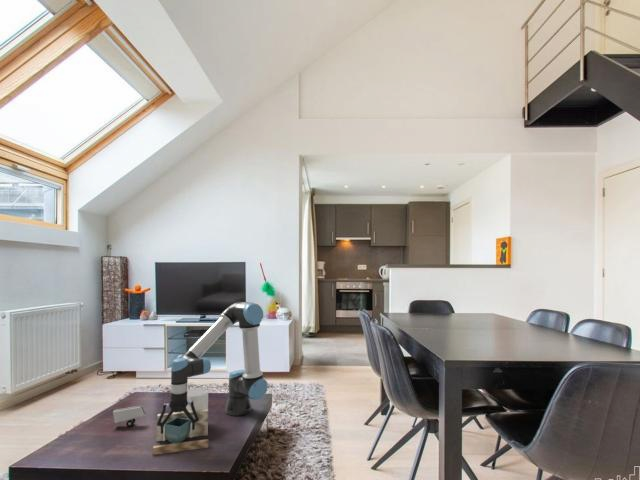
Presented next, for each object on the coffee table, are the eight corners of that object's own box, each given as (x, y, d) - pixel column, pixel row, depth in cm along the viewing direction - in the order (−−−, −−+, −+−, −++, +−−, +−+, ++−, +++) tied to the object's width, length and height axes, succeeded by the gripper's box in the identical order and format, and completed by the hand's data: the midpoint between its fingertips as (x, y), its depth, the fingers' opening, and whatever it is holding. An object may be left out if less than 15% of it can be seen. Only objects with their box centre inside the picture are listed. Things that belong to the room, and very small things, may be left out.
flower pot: (191, 438, 184) (191, 419, 185) (179, 446, 176) (179, 426, 177) (176, 435, 187) (177, 417, 188) (163, 443, 179) (164, 424, 180)
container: (173, 427, 201) (175, 392, 202) (198, 419, 212) (199, 386, 213) (188, 435, 192) (189, 398, 193) (212, 426, 202) (213, 391, 203)
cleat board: (207, 433, 193) (208, 409, 194) (208, 447, 178) (208, 421, 179) (156, 439, 186) (157, 414, 187) (152, 454, 171) (153, 427, 172)
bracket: (115, 430, 199) (145, 423, 201) (112, 412, 199) (141, 404, 202) (118, 427, 203) (147, 420, 205) (115, 409, 203) (144, 402, 206)
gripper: (204, 387, 190) (203, 431, 189) (153, 391, 183) (151, 438, 182) (204, 391, 183) (203, 438, 182) (151, 396, 176) (149, 445, 175)
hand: (177, 438), depth 182 cm, fingers closed on flower pot, 11 cm apart
